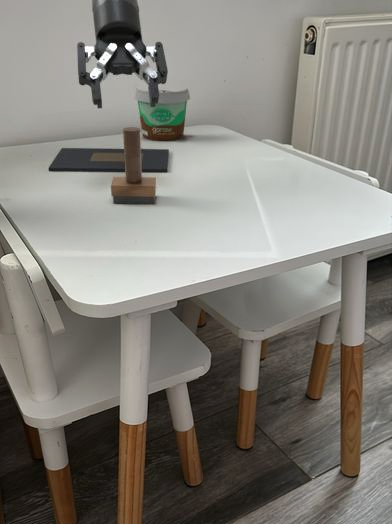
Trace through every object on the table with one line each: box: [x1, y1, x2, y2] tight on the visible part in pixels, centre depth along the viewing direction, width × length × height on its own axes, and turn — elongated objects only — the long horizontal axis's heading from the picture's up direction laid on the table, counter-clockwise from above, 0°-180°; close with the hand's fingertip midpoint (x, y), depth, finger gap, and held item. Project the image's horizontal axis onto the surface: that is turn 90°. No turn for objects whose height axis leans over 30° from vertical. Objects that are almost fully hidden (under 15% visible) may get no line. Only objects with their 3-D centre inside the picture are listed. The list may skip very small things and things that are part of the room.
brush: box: [110, 126, 157, 205], centre depth 88 cm, size 7×4×11 cm, turn 91°
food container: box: [133, 87, 191, 142], centre depth 122 cm, size 12×6×10 cm, turn 104°
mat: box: [47, 147, 170, 173], centre depth 109 cm, size 22×14×1 cm, turn 91°
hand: (126, 104), depth 89 cm, fingers open, 8 cm apart
